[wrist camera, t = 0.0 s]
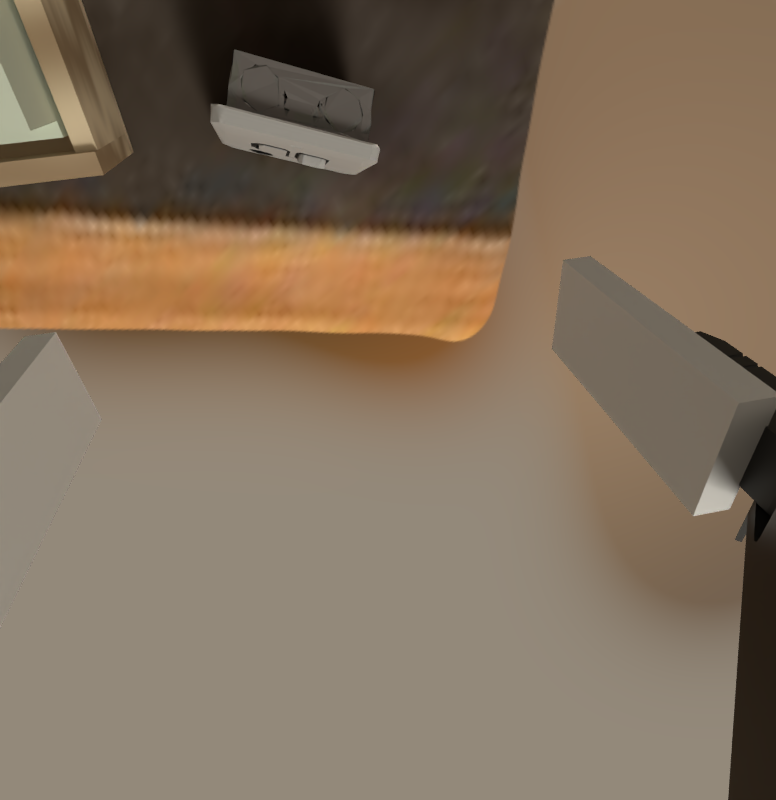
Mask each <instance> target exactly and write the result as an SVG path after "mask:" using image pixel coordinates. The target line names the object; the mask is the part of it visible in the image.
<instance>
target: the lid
mask: <svg viewBox="0 0 776 800" xmlns="http://www.w3.org/2000/svg"><path fill="white" fill-rule="evenodd" d="M66 136H68V133H67V130H66V128H65V126H64V123H63V121H62V118H61V116H60V113H59V111H58V108H57V106H56V103H55V101H54V98H53V96H52V93H51V91H50V88H49V86H48V84H47V81H46V79H45V76H44V74H43V71H42V69H41V66H40V64H39V61H38V59H37V56H36V54H35V51H34V49H33V47H32V44H31V42H30V39H29V37H28V34H27V32H26V29H25V27H24V24H23V22H22V19H21V17H20V14H19V12H18V10H17V7H16V5H15V2H14V0H0V145H2V144H10V143H19V142H28V141H37V140H46V139H55V138H64V137H66Z"/></svg>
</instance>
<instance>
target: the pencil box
mask: <svg viewBox="0 0 776 800" xmlns="http://www.w3.org/2000/svg"><path fill="white" fill-rule="evenodd" d="M14 2H15V5H16V7H17V10H18V12H19V14H20V17H21V19H22V22H23V24H24V27H25V29H26V32H27V34H28V37H29V39H30V42H31V44H32V47H33V49H34V51H35V54H36V56H37V59H38V61H39V64H40V66H41V69H42V71H43V74H44V76H45V79H46V81H47V84H48V86H49V88H50V91H51V93H52V96H53V98H54V101H55V103H56V106H57V108H58V111H59V113H60V116H61V118H62V121H63V123H64V126H65V128H66V130H67V133H68V136H66V137H64V138H55V139H46V140H37V141H28V142H19V143H10V144H2V145H0V187H6V186H14V185H22V184H31V183H39V182H48V181H56V180H64V179H73V178H81V177H90V176H98V175H104V174H105V173H107V172H108V171H109V170H111V169H112V168H113V167H115V166H116V165H117V164H119V163H120V162H121V161H123V160H124V159H125V158H127V157H128V156H129V155H131V154H132V153H133V149H132V146H131V143H130V140H129V137H128V134H127V131H126V128H125V126H124V123H123V120H122V117H121V114H120V111H119V108H118V105H117V102H116V99H115V96H114V94H113V91H112V88H111V85H110V82H109V79H108V76H107V73H106V70H105V67H104V64H103V62H102V59H101V56H100V53H99V50H98V47H97V44H96V41H95V38H94V35H93V32H92V30H91V27H90V24H89V21H88V18H87V15H86V12H85V9H84V6H83V3H82V0H14Z"/></svg>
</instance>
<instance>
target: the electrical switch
mask: <svg viewBox="0 0 776 800" xmlns="http://www.w3.org/2000/svg"><path fill="white" fill-rule="evenodd" d="M255 64H256V65H255ZM254 65H255V66H254ZM275 75H276V76H275ZM345 88H346V89H347V90H348V91H347V90H345ZM284 90H285V93H286V95H287V98H284ZM374 91H375V90H374V89H372V88H368V87H365V86H361V85H358V84H354V83H351V82H347V81H344V80H340V79H337V78H333V77H330V76H326V75H323V74H319V73H316V72H312V71H309V70H305V69H302V68H298V67H295V66H291V65H288V64H284V63H281V62H277V61H274V60H270V59H267V58H263V57H260V56H256V55H253V54H249V53H246V52H242V51H239V50H235V49H234V52H233V58H232V67H231V72H230V77H229V85H228V98H227V105H226V106H225V105H221V104H211V124H212V125H213V127H214V129H215V131H216V133H217V134H218V136H219V138H220V140H221V141H222V143H223V144H226V145H228V146H231V147H233V148H237V149H241V150H245V151H250V152H254V153H258V154H263V155H267V156H271V157H275V158H280V159H284V160H288V161H292V162H297V163H300V164H304V165H307V166H311V167H315V168H321V169H327V170H331V171H335V172H340V173H344V174H353V175H355V174H357V173H359V172H361V171H363V170H365V169H366V168H368V167H370V166H372V165H374V164H376V163H377V161H378V156H379V152H380V148H379V147H378V145H377V144H373V143H369V142H368V137H369V131H370V127H371V108H372V102H373V97H374ZM326 97H327V100H326ZM319 101H320V104H319V107H317V106H318V103H319ZM359 101H360V102H359ZM325 102H326V103H325ZM360 104H361V106H360Z"/></svg>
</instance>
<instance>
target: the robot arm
mask: <svg viewBox="0 0 776 800" xmlns="http://www.w3.org/2000/svg"><path fill="white" fill-rule="evenodd" d="M552 349H553V351H554V352H555V353H556V354H557V355H558V356H559V358H560V359H561V360H562V361H563V362H564V364H565V365H566V366H567V367H568V368H569V369H570V371H571V372H572V373H573V374H574V375H575V377H576V378H577V379H578V380H579V381H580V383H581V384H582V385H583V386H584V387H585V388H586V390H587V391H588V392H589V393H590V394H591V396H592V397H593V398H594V399H595V400H596V401H597V403H598V404H599V405H600V406H601V407H602V408H603V410H604V411H605V412H606V413H607V414H608V416H609V417H610V418H611V419H612V420H613V422H614V423H615V424H616V425H617V426H618V428H619V429H620V430H621V431H622V432H623V433H624V435H625V436H626V437H627V438H628V439H629V441H630V442H631V443H632V444H633V445H634V447H635V448H636V449H637V450H638V451H639V452H640V454H641V455H642V456H643V457H644V458H645V459H646V461H647V462H648V463H649V464H650V465H651V467H652V468H653V469H654V470H655V471H656V472H657V474H658V475H659V476H660V477H661V478H662V480H663V481H664V482H665V483H666V484H667V485H668V487H669V488H670V489H671V490H672V492H673V493H674V494H675V495H676V496H677V497H678V499H679V500H680V501H681V502H682V503H683V505H684V506H685V507H686V508H687V509H688V510H689V512H690V513H691V514H692V515H693V516H696V515H701V514H706V513H711V512H717V511H722V510H727V509H730V507H731V505H732V502H733V501H734V498H735V496H736V494H737V492H738V490H739V488H740V487H741V488H742V489H743V490H744V491H745V492H746V493H747V494H748V495H749V496H750V497H751V498H752V499H754V502H753V504H752V506H751V508H750V510H749V512H748V514H747V516H746V518H745V520H744V522H743V524H742V526H741V528H740V530H739V532H738V534H737V536H736V539H735V540H737V541H740V542H742V540H743V538H744V536H745V535H746V548H745V562H744V577H743V592H742V606H741V621H740V636H739V650H738V665H737V679H736V694H735V709H734V723H733V738H732V754H731V768H730V782H729V797H728V800H776V377H775V376H774V375H773V374H771V373H770V372H768V371H767V370H765V369H764V368H763V367H758V366H757V363H755V362H754V361H753V360H751V359H750V358H748V357H747V356H744V357H743V354H742V353H741V352H739V351H738V350H737V349H735V348H734V347H733V346H731V345H730V344H728V343H727V342H725V341H723V340H721V339H718V338H716V337H713V336H711V335H708V334H706V333H703V332H694V331H692V330H691V329H689V328H688V327H687V326H685V325H684V324H682V323H681V322H680V321H679V320H677V319H676V318H674V317H673V316H672V315H670V314H669V313H668V312H666V311H665V310H664V309H662V308H661V307H659V306H658V305H657V304H655V303H654V302H652V301H651V300H650V299H648V298H647V297H646V296H644V295H643V294H641V293H640V292H639V291H637V290H636V289H635V288H633V287H632V286H631V285H629V284H628V283H626V282H625V281H624V280H622V279H621V278H619V277H618V276H617V275H615V274H614V273H613V272H611V271H610V270H609V269H607V268H606V267H604V266H603V265H602V264H600V263H599V262H598V261H596V260H595V259H593V258H592V257H591V256H588V257H581V258H575V259H567V260H563V266H562V274H561V281H560V289H559V297H558V305H557V313H556V321H555V329H554V338H553V345H552ZM100 422H101V417H100V415H99V413H98V411H97V409H96V407H95V406H94V403H93V402H92V400H91V398H90V396H89V394H88V392H87V390H86V388H85V386H84V384H83V382H82V381H81V379H80V377H79V375H78V373H77V371H76V369H75V367H74V365H73V364H72V362H71V360H70V358H69V356H68V354H67V352H66V350H65V348H64V346H63V344H62V343H61V341H60V339H59V337H58V335H57V333H56V332H53V333H46V334H39V335H32V336H25V337H23V338H22V339H21V341H20V342H19V343H18V344H17V345H16V346H15V347H14V348H13V349H12V351H11V352H10V353H9V354H8V355H7V357H5V359H4V360H3V361H2V362H1V363H0V628H1V626H2V624H3V622H4V619H5V617H6V615H7V613H8V611H9V609H10V607H11V605H12V603H13V601H14V599H15V597H16V595H17V593H18V590H19V589H20V586H21V584H22V582H23V580H24V578H25V576H26V574H27V572H28V570H29V568H30V566H31V564H32V562H33V560H34V558H35V555H36V554H37V552H38V549H39V547H40V545H41V543H42V541H43V539H44V537H45V535H46V533H47V531H48V529H49V527H50V525H51V523H52V520H53V518H54V516H55V514H56V512H57V510H58V508H59V506H60V504H61V502H62V500H63V498H64V496H65V494H66V492H67V490H68V487H69V486H70V484H71V481H72V479H73V477H74V475H75V473H76V471H77V469H78V467H79V465H80V463H81V461H82V459H83V457H84V455H85V453H86V451H87V449H88V446H89V444H90V442H91V440H92V438H93V436H94V434H95V432H96V430H97V428H98V426H99V424H100Z"/></svg>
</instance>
